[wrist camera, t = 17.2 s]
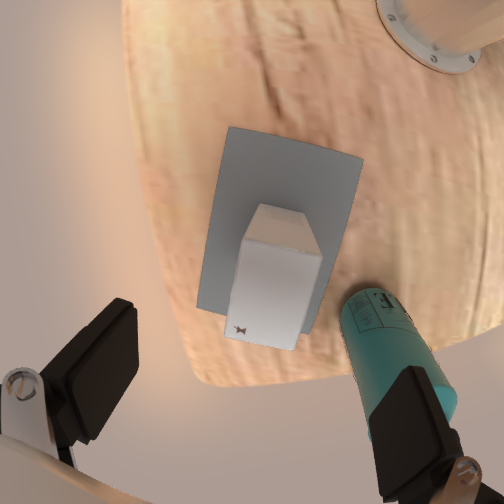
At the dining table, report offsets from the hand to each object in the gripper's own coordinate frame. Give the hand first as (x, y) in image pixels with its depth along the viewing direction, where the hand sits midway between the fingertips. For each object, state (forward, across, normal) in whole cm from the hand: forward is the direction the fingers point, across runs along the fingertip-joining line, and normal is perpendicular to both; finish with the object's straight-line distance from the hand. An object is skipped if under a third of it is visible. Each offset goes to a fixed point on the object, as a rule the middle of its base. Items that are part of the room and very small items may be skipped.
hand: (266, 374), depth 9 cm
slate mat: (+18, 0, +1) cm, 19 cm away
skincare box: (+18, 0, +1) cm, 18 cm away
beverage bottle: (+19, -10, +6) cm, 22 cm away
